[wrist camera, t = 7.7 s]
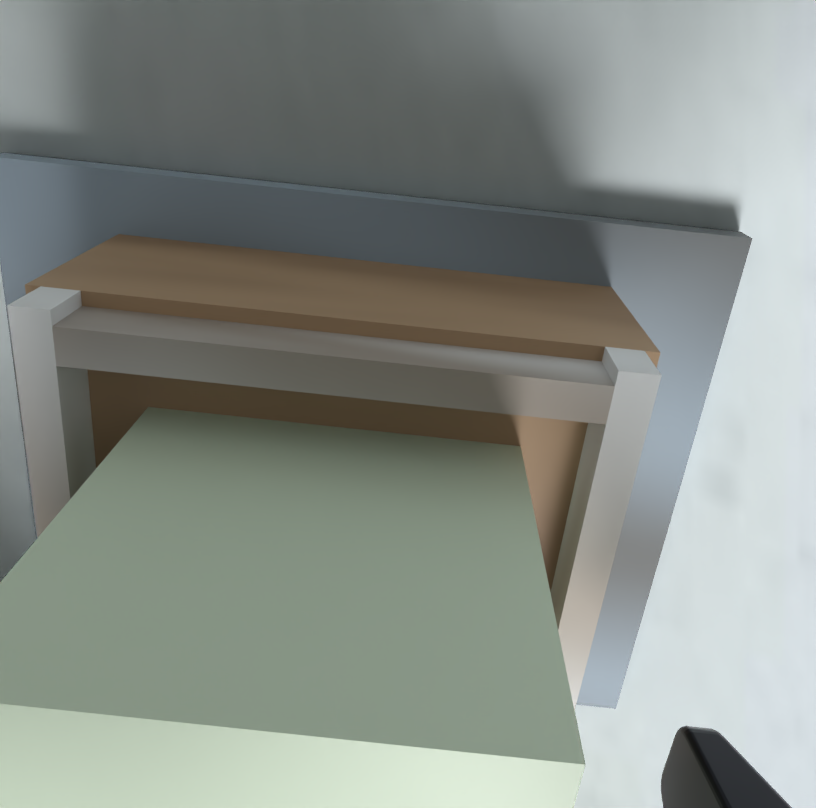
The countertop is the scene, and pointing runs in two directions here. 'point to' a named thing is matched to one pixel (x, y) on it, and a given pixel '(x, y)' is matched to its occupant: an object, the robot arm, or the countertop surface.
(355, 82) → the countertop surface
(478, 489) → the sage block
